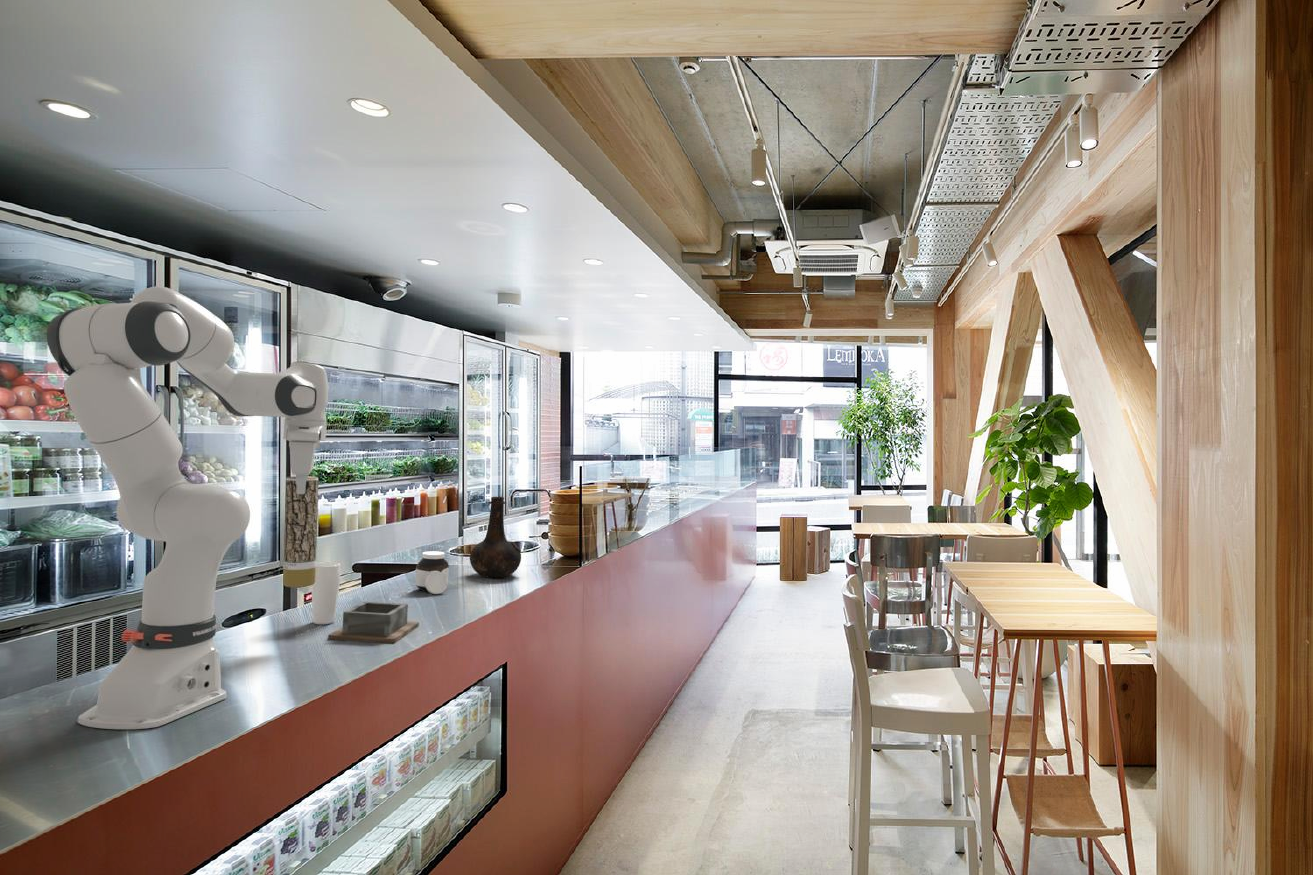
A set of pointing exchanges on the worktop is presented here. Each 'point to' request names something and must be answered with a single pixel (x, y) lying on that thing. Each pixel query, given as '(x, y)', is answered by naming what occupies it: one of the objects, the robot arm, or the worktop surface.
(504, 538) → the dark brown vase
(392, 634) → the grey square open box
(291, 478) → the paper tube
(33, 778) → the worktop surface
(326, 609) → the drinking glass
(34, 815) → the worktop surface
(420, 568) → the spread jar
